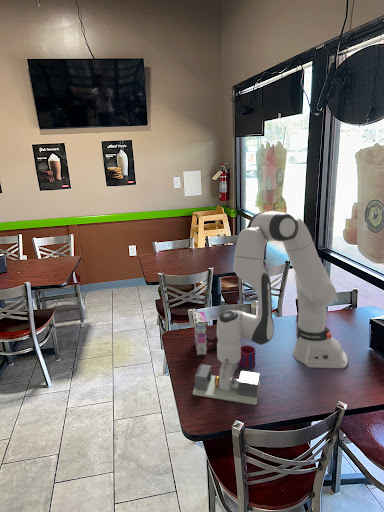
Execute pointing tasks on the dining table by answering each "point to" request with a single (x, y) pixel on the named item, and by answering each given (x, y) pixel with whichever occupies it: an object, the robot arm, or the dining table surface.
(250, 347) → the mug
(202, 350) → the candy bar box
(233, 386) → the tube
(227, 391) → the board
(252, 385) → the dark grey cube cap
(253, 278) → the robot arm
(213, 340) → the icecream
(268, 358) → the dining table surface
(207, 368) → the socket
